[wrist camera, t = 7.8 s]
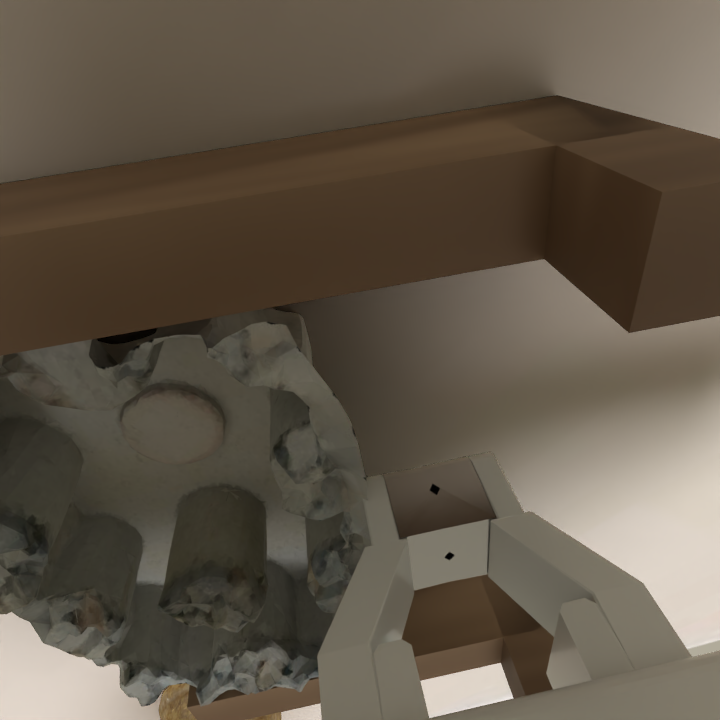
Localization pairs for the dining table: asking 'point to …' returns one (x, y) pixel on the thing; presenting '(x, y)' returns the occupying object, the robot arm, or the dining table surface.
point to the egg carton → (180, 503)
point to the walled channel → (375, 267)
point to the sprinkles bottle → (175, 705)
